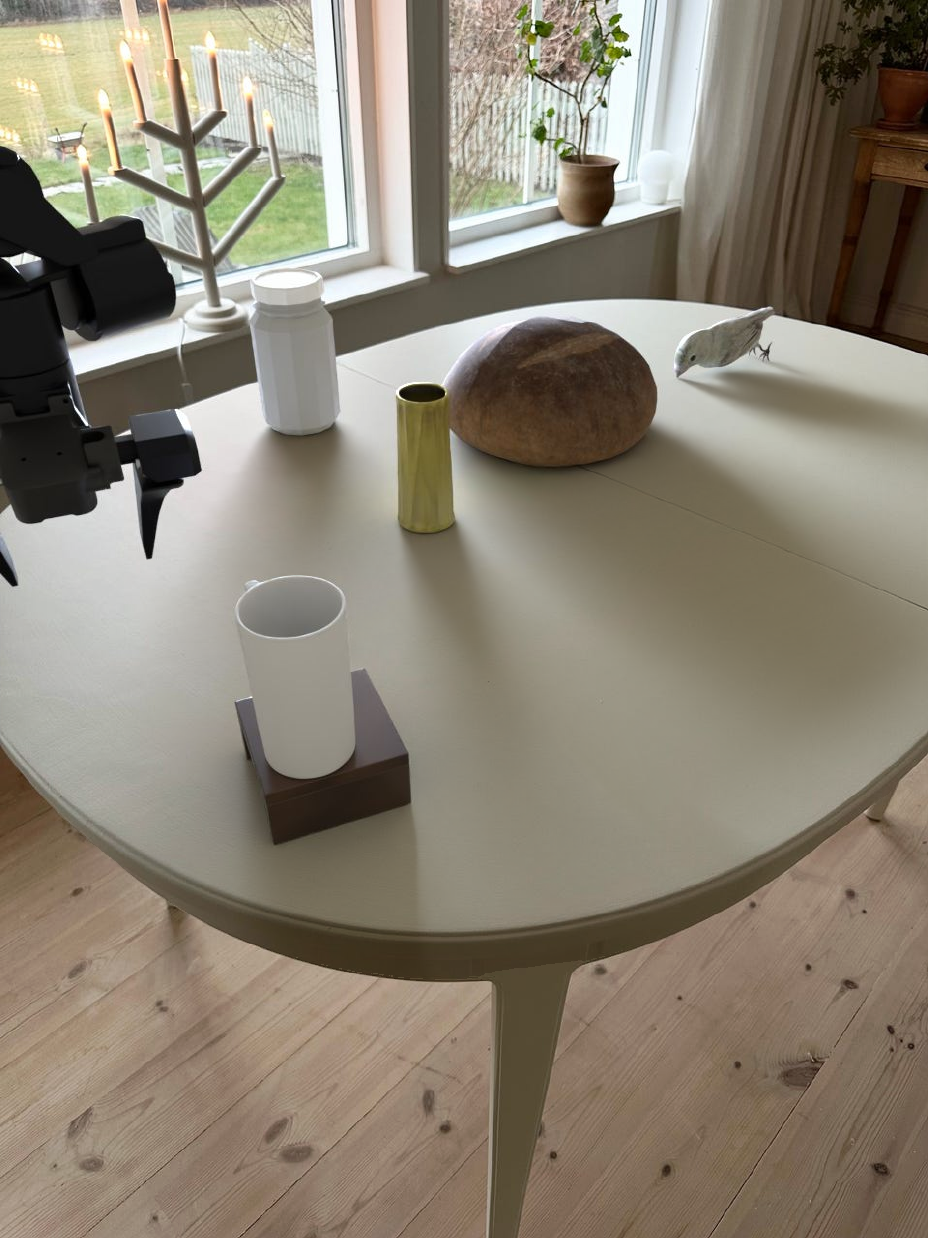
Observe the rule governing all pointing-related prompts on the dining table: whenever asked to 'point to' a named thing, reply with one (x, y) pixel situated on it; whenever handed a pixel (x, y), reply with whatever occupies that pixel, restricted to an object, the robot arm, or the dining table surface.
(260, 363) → the jar
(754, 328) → the decorative bird
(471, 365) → the bread
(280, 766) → the mug
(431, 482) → the vase
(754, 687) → the dining table surface
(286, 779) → the wooden box
